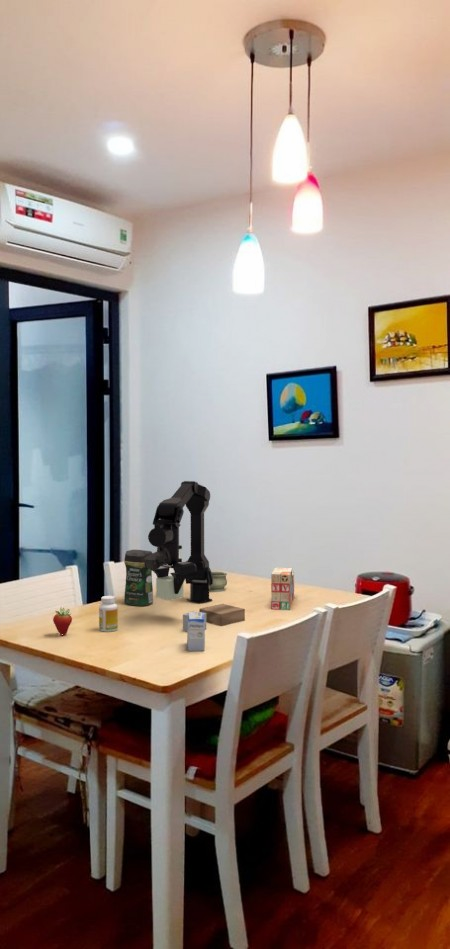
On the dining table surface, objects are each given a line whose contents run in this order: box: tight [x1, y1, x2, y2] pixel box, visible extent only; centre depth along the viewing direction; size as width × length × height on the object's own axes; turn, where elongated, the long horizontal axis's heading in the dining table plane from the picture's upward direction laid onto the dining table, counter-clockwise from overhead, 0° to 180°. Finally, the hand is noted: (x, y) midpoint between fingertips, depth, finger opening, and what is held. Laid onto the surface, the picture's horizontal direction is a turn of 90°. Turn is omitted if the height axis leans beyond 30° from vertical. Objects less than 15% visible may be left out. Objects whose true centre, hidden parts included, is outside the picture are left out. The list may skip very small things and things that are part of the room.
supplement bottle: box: [98, 595, 119, 633], centre depth 208 cm, size 5×5×10 cm
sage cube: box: [155, 575, 184, 601], centre depth 220 cm, size 6×6×6 cm
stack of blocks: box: [270, 566, 295, 611], centre depth 244 cm, size 21×6×12 cm, turn 170°
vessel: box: [209, 571, 228, 593], centre depth 266 cm, size 12×9×6 cm
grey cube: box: [182, 610, 207, 633], centre depth 208 cm, size 5×5×5 cm
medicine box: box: [186, 611, 206, 652], centre depth 191 cm, size 8×4×9 cm, turn 5°
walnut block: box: [198, 603, 246, 627], centre depth 220 cm, size 10×10×4 cm
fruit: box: [52, 607, 73, 636], centre depth 202 cm, size 5×5×8 cm
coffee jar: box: [124, 549, 154, 607], centre depth 242 cm, size 10×8×19 cm
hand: (169, 592), depth 220 cm, fingers closed on sage cube, 6 cm apart
